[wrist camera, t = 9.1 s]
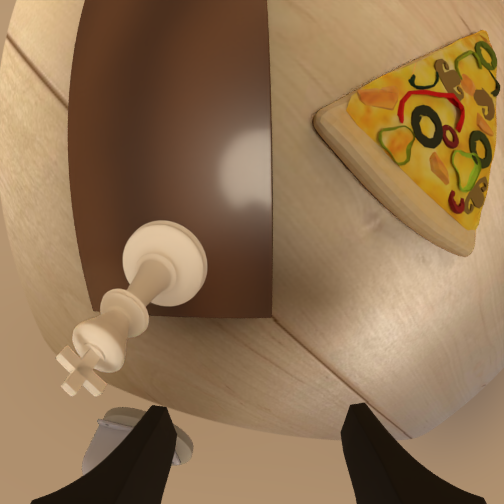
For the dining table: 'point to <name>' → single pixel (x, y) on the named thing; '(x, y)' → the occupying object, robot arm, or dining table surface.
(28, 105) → the dining table surface
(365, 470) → the robot arm
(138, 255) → the chess piece
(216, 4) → the stand
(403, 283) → the dining table surface
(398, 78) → the pizza slice
